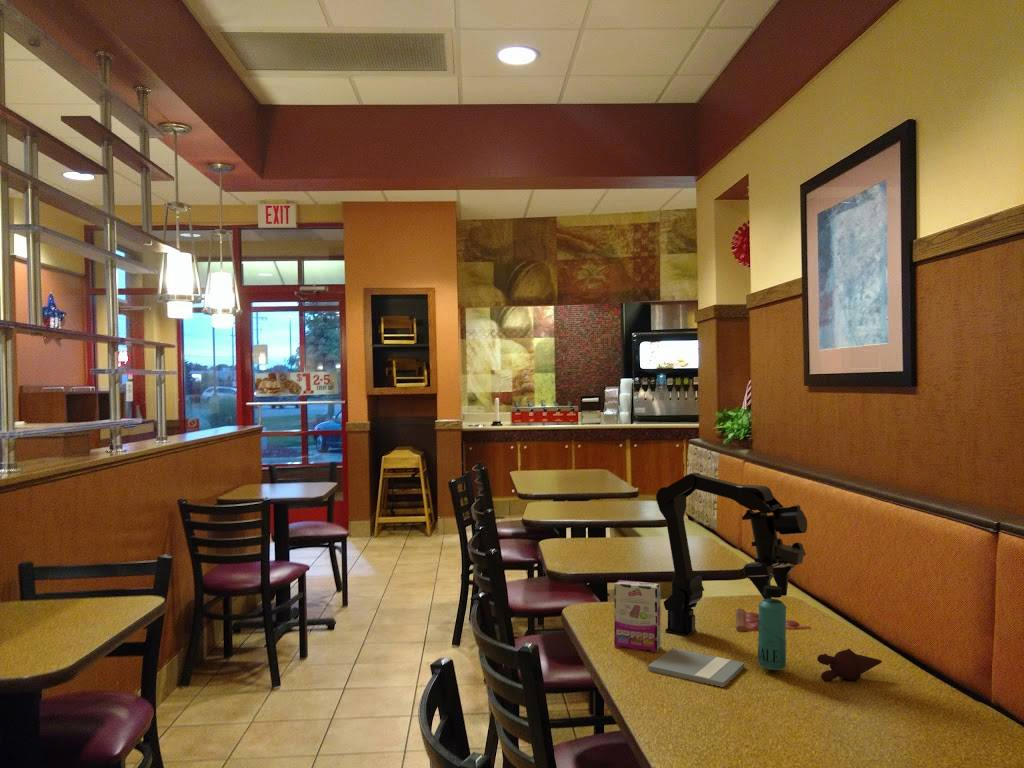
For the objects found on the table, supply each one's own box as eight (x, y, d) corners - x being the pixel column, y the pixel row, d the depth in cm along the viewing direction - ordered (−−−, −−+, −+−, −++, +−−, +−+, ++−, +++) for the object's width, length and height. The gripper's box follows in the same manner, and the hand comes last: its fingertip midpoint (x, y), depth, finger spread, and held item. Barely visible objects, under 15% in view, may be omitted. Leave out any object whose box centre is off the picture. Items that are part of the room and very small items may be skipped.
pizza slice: (736, 607, 229) (807, 613, 223) (735, 614, 229) (807, 621, 223) (736, 625, 211) (814, 632, 205) (735, 633, 211) (814, 641, 205)
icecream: (869, 644, 182) (809, 651, 180) (886, 646, 175) (823, 653, 173) (876, 675, 180) (814, 682, 179) (893, 678, 173) (829, 686, 171)
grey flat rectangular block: (647, 670, 181) (648, 664, 181) (672, 652, 193) (672, 647, 193) (723, 687, 170) (723, 681, 170) (744, 667, 183) (744, 662, 183)
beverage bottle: (782, 667, 184) (783, 583, 184) (789, 677, 177) (790, 590, 177) (754, 665, 184) (755, 582, 184) (760, 676, 178) (761, 589, 178)
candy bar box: (661, 647, 197) (661, 583, 197) (657, 653, 192) (657, 587, 192) (618, 641, 201) (618, 578, 201) (613, 647, 197) (613, 583, 197)
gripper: (780, 539, 182) (793, 606, 180) (810, 528, 196) (822, 591, 194) (737, 542, 190) (748, 606, 187) (769, 532, 203) (780, 592, 201)
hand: (777, 599), depth 192 cm, fingers open, 9 cm apart
